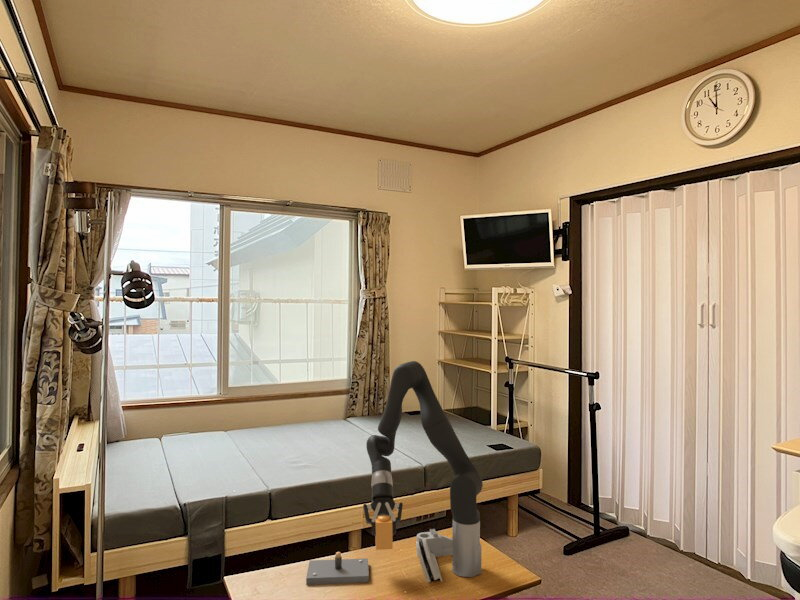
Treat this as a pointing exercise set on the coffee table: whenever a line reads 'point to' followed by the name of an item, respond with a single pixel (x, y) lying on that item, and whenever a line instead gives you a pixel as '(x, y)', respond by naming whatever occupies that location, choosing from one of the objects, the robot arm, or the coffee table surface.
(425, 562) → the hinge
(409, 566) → the coffee table surface
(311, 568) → the riveted grey base plate
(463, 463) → the robot arm
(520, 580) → the coffee table surface
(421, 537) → the grey mounting bracket
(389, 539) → the orange dome-topped block
